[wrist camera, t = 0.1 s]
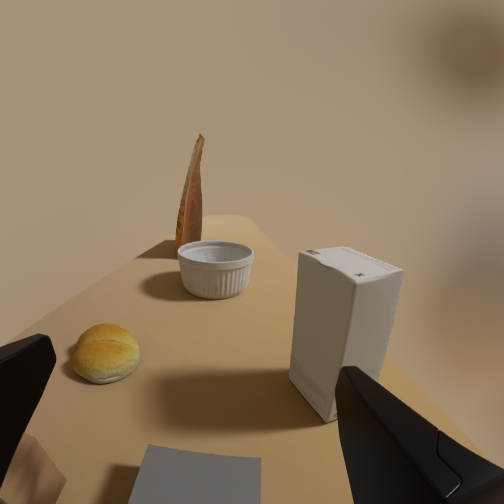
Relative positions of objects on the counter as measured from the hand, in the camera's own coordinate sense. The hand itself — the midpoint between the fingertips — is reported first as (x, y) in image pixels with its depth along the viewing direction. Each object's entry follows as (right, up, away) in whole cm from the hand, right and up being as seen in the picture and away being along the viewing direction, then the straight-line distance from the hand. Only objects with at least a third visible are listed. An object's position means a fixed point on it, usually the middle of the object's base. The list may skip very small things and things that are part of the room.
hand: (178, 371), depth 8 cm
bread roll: (-15, -10, +23) cm, 29 cm away
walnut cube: (-16, -16, +4) cm, 22 cm away
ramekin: (-4, -3, +46) cm, 46 cm away
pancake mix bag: (-13, +4, +66) cm, 67 cm away
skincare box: (+10, -12, +21) cm, 26 cm away
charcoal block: (-2, -16, +7) cm, 17 cm away
